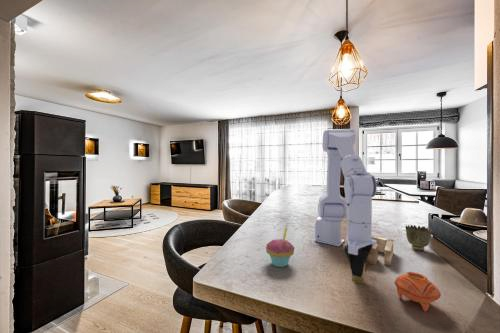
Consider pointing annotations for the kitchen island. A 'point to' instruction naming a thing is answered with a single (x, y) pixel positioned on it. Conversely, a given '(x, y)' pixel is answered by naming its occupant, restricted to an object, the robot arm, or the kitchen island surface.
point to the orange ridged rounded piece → (417, 289)
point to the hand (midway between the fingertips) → (358, 272)
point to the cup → (418, 237)
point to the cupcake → (280, 251)
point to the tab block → (371, 259)
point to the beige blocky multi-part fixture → (385, 248)
